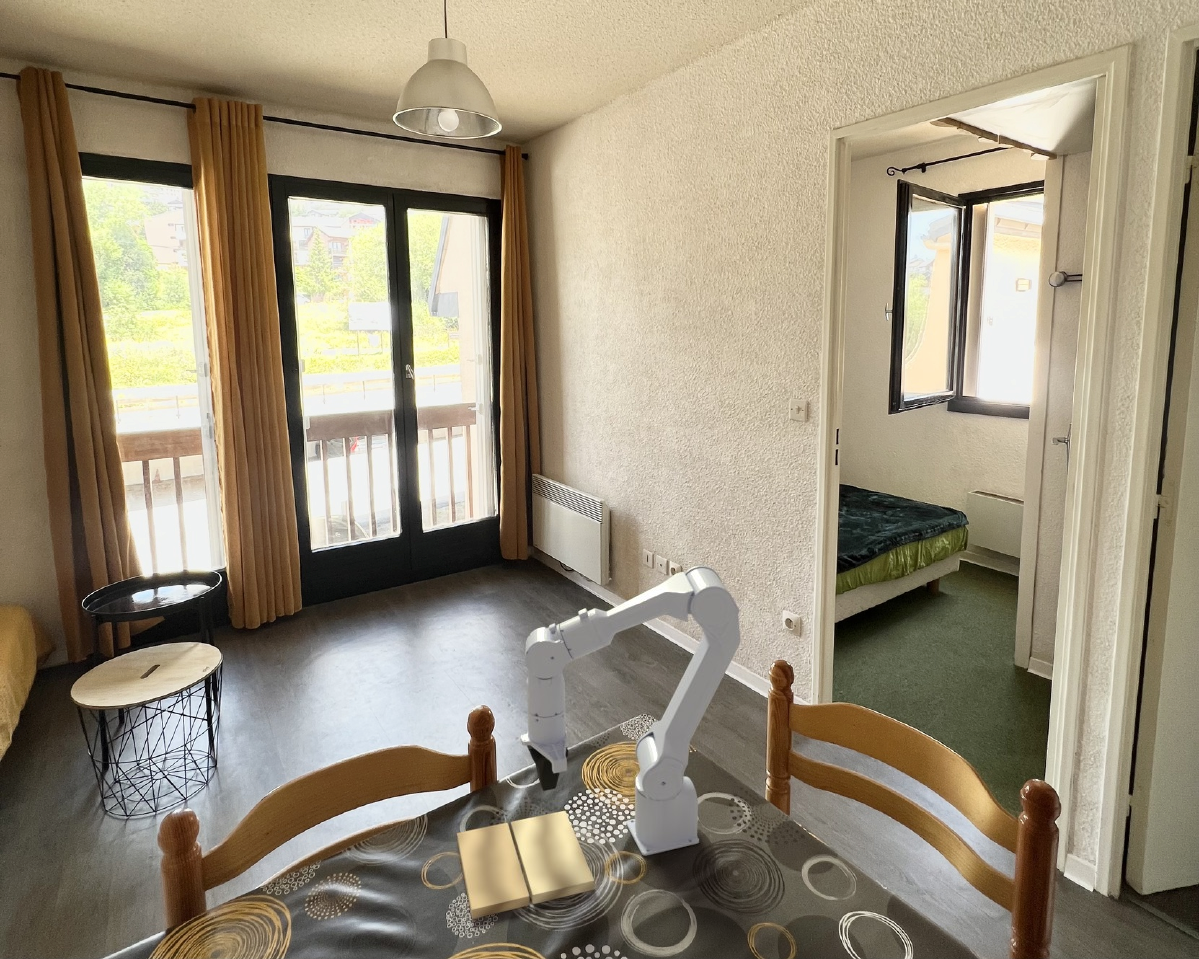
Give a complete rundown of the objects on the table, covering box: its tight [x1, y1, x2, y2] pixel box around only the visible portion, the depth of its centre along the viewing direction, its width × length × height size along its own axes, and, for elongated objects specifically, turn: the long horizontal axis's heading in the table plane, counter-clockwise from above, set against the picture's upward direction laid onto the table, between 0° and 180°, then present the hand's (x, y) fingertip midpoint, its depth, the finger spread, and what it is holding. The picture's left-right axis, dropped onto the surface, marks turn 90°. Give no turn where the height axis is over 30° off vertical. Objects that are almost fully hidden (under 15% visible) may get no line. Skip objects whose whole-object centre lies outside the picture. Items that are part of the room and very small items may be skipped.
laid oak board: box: [456, 822, 530, 920], centre depth 111 cm, size 8×16×2 cm, turn 18°
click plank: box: [510, 810, 595, 905], centre depth 113 cm, size 9×16×2 cm, turn 18°
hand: (548, 787), depth 115 cm, fingers closed
